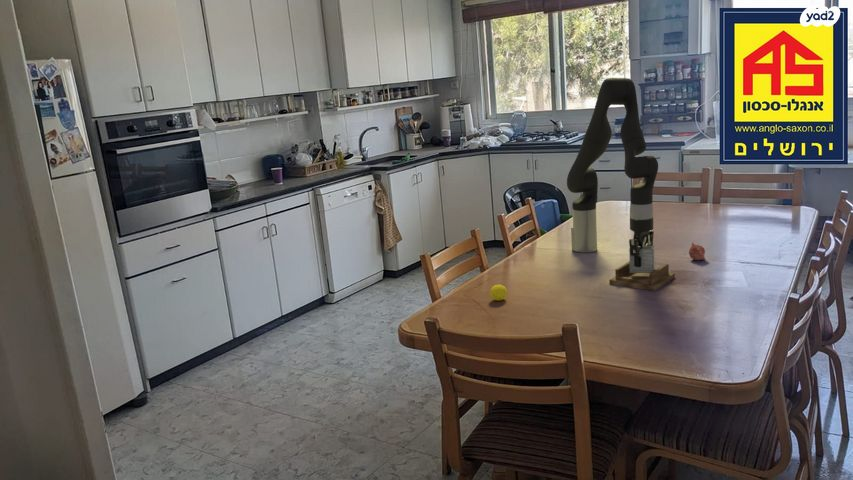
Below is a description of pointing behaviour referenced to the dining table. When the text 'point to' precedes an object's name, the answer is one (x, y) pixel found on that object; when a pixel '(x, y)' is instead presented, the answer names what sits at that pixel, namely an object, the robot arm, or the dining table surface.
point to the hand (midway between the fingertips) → (641, 264)
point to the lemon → (498, 292)
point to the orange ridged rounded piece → (697, 252)
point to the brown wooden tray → (642, 277)
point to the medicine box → (644, 261)
